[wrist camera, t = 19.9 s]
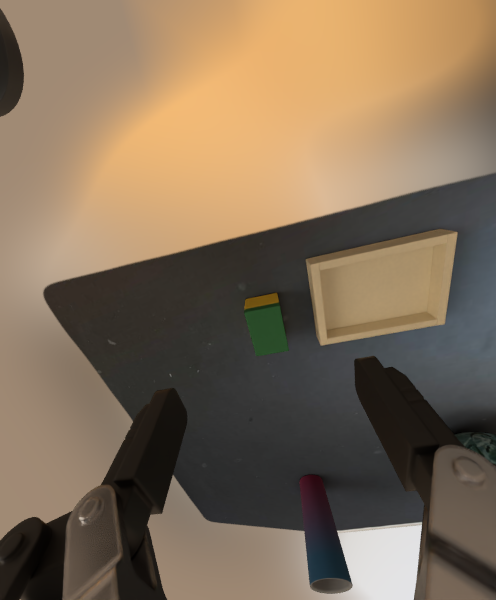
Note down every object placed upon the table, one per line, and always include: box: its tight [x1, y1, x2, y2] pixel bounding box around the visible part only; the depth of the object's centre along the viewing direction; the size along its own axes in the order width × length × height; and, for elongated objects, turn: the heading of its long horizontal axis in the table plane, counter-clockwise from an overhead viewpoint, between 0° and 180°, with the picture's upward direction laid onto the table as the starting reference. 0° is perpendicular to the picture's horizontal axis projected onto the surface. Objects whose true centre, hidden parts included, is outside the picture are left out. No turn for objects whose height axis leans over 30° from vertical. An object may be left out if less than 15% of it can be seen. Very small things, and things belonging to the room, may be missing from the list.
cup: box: [300, 475, 352, 594], centre depth 44 cm, size 7×7×15 cm
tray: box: [306, 229, 458, 345], centre depth 29 cm, size 16×12×3 cm
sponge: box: [244, 293, 289, 356], centre depth 31 cm, size 7×4×4 cm, turn 14°
